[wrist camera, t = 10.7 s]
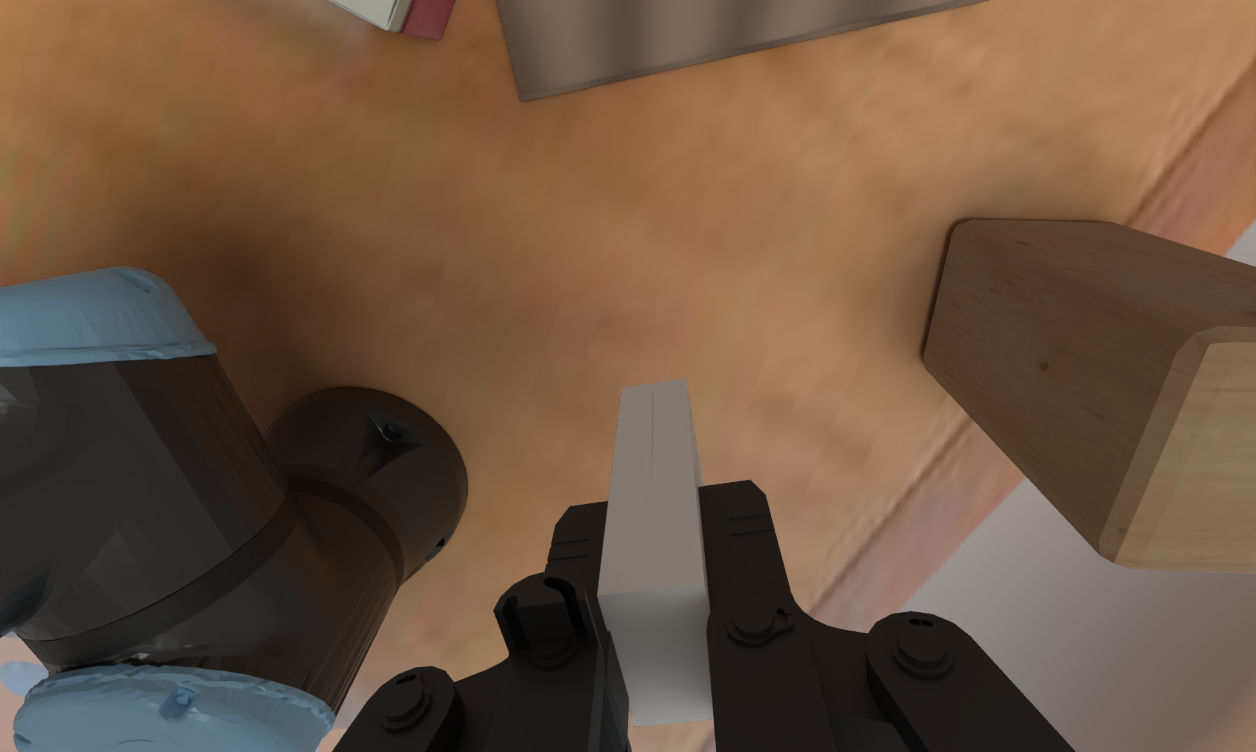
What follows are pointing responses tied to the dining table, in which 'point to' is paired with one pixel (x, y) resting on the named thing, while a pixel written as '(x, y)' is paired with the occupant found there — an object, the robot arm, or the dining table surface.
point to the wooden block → (1111, 381)
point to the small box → (403, 15)
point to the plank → (669, 34)
